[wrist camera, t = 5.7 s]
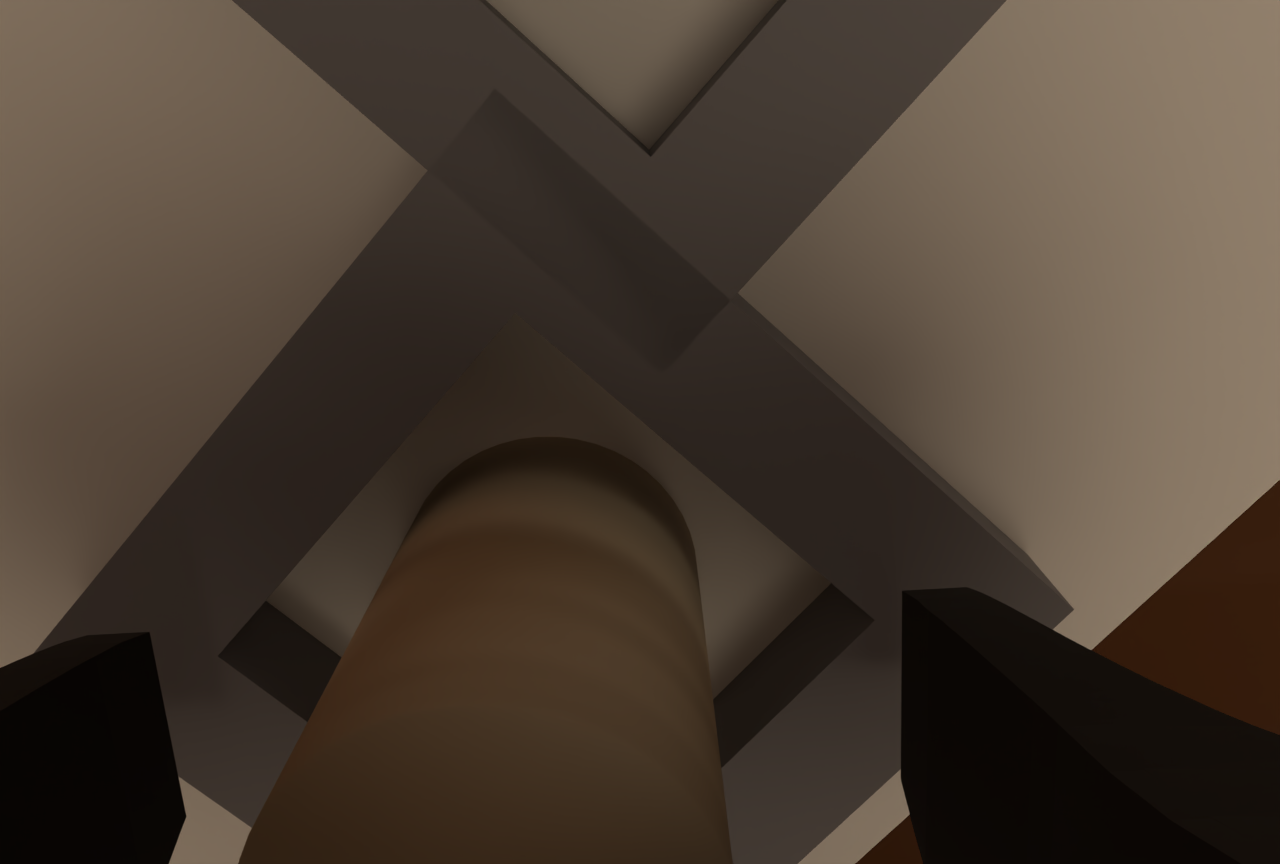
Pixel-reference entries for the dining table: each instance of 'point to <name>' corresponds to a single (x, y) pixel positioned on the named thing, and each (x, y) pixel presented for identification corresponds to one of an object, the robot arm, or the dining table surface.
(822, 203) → the pin board
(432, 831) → the wooden pin
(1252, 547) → the dining table surface
